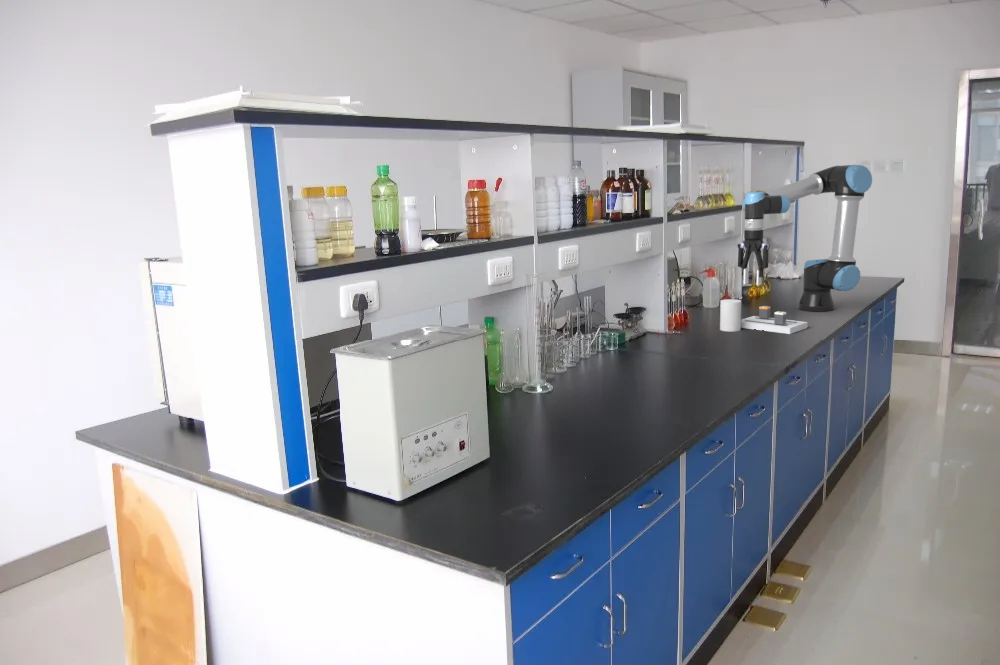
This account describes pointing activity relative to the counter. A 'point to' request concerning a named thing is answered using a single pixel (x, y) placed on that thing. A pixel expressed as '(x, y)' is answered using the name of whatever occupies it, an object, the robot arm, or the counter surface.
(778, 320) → the fader cream
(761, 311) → the fader orange
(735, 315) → the cup
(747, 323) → the panel
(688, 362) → the counter surface
